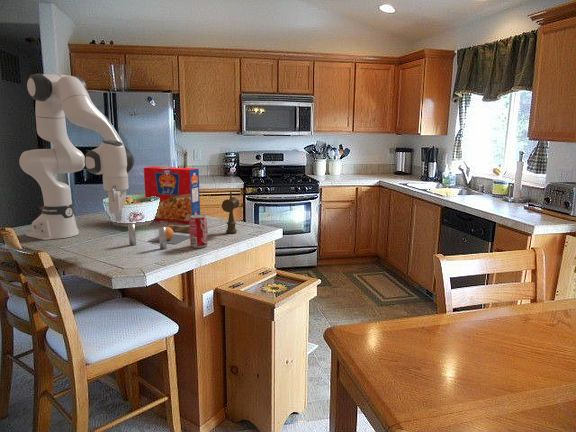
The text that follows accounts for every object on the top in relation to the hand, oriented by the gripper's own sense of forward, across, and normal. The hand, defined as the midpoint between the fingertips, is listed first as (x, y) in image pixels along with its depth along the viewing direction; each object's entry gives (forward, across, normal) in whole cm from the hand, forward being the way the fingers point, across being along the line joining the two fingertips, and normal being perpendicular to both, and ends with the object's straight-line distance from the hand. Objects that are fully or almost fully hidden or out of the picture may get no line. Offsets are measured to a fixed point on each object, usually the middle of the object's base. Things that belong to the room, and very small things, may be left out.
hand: (118, 220), depth 162 cm
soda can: (+14, +5, -30) cm, 33 cm away
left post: (+14, +14, -3) cm, 19 cm away
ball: (+11, +18, -17) cm, 27 cm away
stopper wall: (+14, +32, -26) cm, 43 cm away
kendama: (+14, +26, -46) cm, 55 cm away
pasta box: (+14, +59, -20) cm, 63 cm away
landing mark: (+14, +20, -18) cm, 31 cm away
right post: (+14, +5, -16) cm, 21 cm away
